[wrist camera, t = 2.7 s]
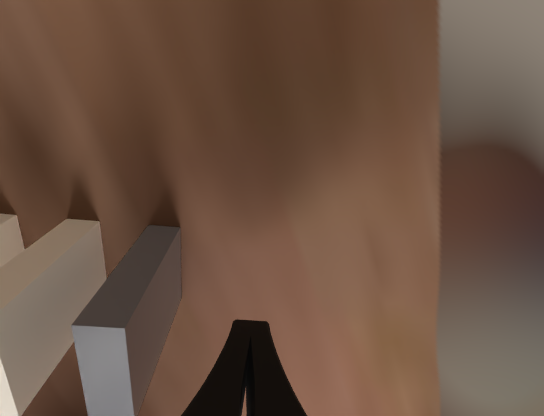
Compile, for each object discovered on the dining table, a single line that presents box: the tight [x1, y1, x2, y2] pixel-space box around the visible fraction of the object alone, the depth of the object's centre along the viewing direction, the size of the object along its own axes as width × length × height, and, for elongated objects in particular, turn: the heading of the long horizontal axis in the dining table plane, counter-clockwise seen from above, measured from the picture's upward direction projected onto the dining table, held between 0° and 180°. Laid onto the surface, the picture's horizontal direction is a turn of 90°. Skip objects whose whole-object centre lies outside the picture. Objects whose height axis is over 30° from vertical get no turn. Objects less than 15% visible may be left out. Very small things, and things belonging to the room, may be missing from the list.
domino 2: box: [71, 225, 182, 416], centre depth 14 cm, size 2×4×7 cm, turn 175°
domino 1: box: [0, 219, 107, 416], centre depth 14 cm, size 2×4×7 cm, turn 174°
